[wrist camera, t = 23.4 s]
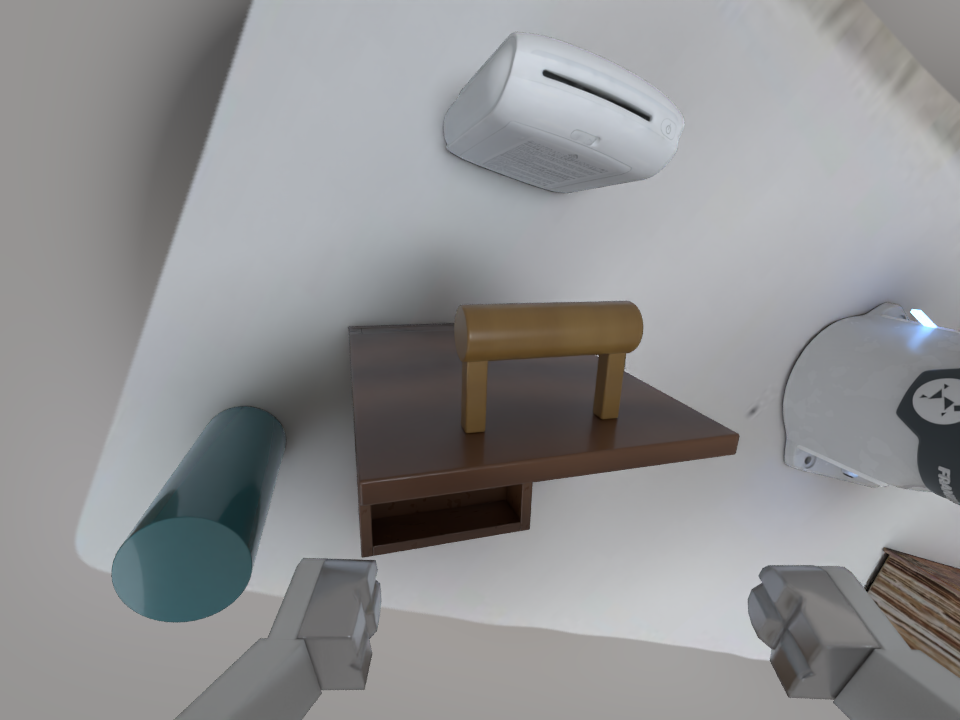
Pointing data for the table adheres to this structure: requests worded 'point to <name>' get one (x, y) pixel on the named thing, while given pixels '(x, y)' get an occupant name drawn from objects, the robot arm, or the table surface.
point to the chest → (439, 502)
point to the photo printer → (561, 118)
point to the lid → (514, 402)
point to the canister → (204, 522)
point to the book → (922, 605)
